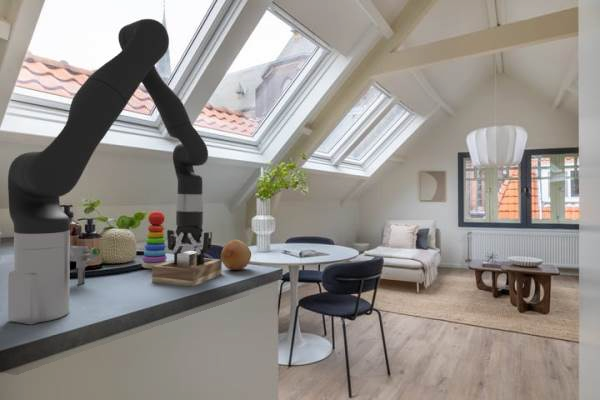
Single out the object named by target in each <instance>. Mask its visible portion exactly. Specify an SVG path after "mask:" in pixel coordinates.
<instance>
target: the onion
mask: <svg viewBox="0 0 600 400" xmlns="http://www.w3.org/2000/svg"><path fill="white" fill-rule="evenodd" d="M251 258H252V252H251V249H250V247H249V246H248V245H247V244H246V243H245V242H243V241H242V240H239V239H232V240H230V241H229V242H227V243H226V244H225V245H224V247H223V248H222V249H221V254H220V260H222V264H223V265H224V266H225V268H226V269H228V270H237V271H240V270H243V269H244V268H246V267H247V266H248V265H249V263H250V262H251Z"/></svg>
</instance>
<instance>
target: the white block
mask: <svg viewBox="0 0 600 400" xmlns="http://www.w3.org/2000/svg"><path fill="white" fill-rule="evenodd" d="M181 252H182V253H179V254H177V268H186V269H189V268H192V267H195V266H196V259H197V251H196V250H187V251H181Z"/></svg>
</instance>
